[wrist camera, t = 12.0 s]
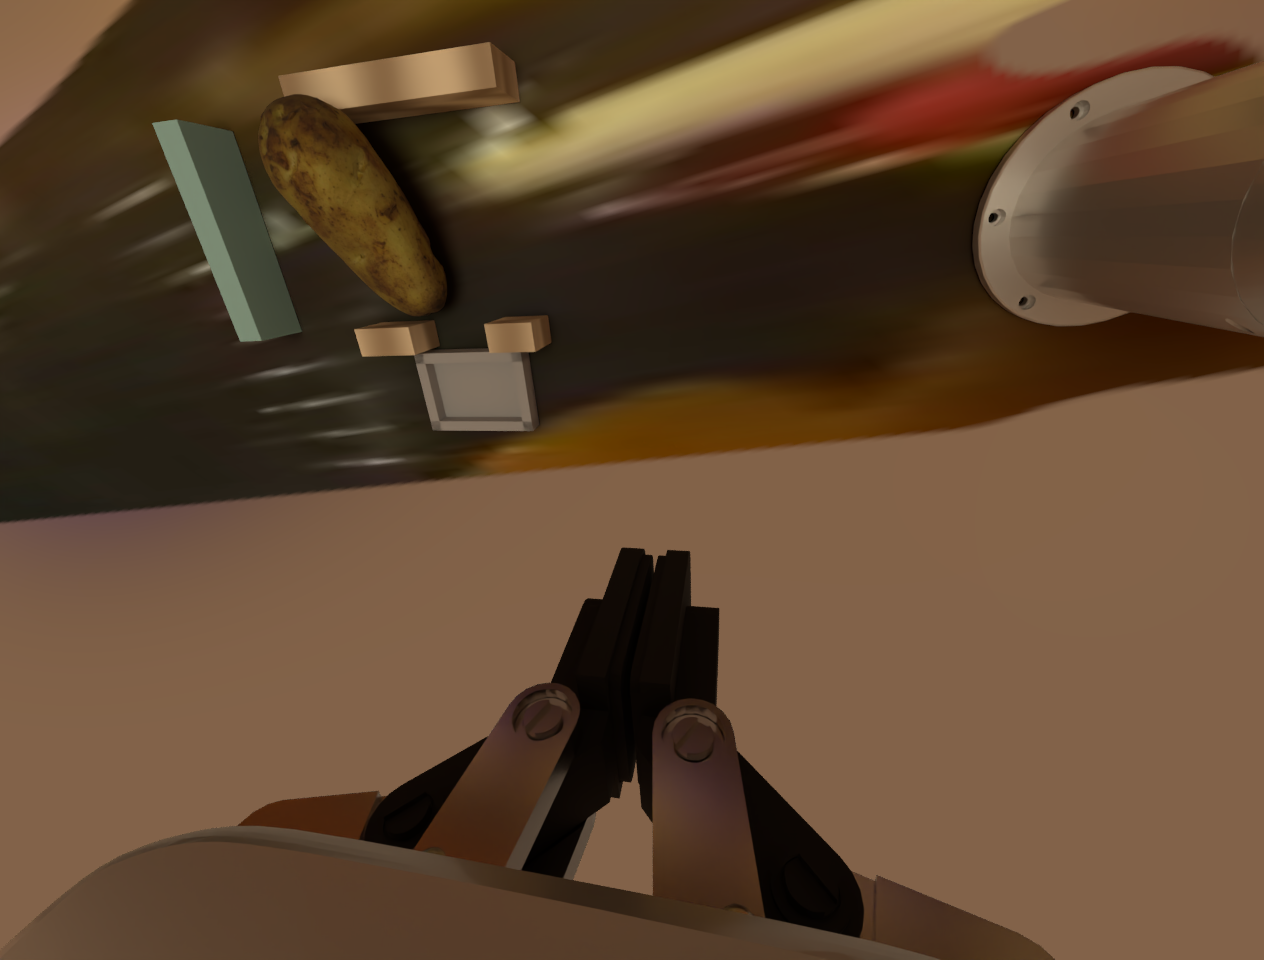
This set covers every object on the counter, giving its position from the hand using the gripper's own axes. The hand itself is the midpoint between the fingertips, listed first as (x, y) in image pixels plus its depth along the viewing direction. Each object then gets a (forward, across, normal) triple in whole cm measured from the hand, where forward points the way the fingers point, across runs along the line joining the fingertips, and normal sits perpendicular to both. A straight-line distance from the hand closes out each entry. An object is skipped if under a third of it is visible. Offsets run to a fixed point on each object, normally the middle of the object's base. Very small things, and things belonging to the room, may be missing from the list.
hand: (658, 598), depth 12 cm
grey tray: (+27, +18, +2) cm, 33 cm away
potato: (+27, +23, -10) cm, 37 cm away
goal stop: (+27, +35, -10) cm, 45 cm away
